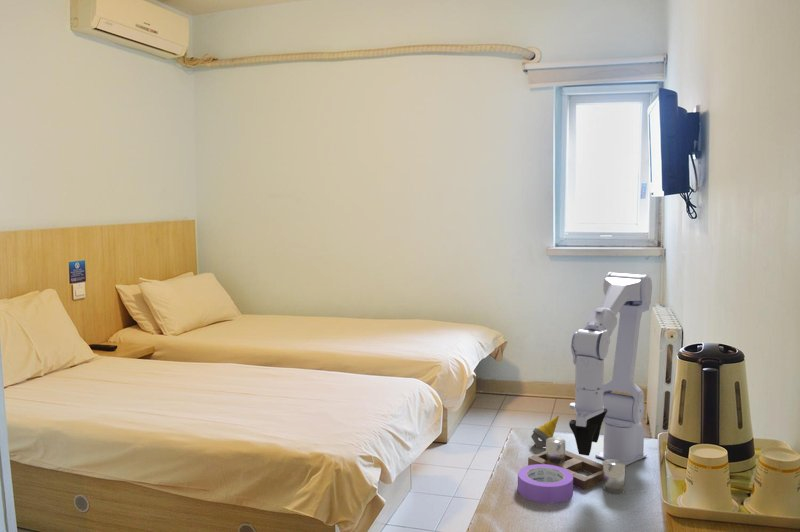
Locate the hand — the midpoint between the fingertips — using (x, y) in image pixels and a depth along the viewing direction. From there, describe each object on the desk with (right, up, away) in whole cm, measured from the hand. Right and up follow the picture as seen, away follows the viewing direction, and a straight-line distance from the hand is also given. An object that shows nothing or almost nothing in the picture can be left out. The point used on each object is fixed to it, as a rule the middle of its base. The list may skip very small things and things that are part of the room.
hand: (588, 447), depth 151 cm
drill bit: (-4, -6, +27) cm, 28 cm away
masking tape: (-9, -10, +2) cm, 14 cm away
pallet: (-1, -8, +11) cm, 14 cm away
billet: (+6, -9, +1) cm, 11 cm away
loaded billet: (-4, -8, +14) cm, 17 cm away
